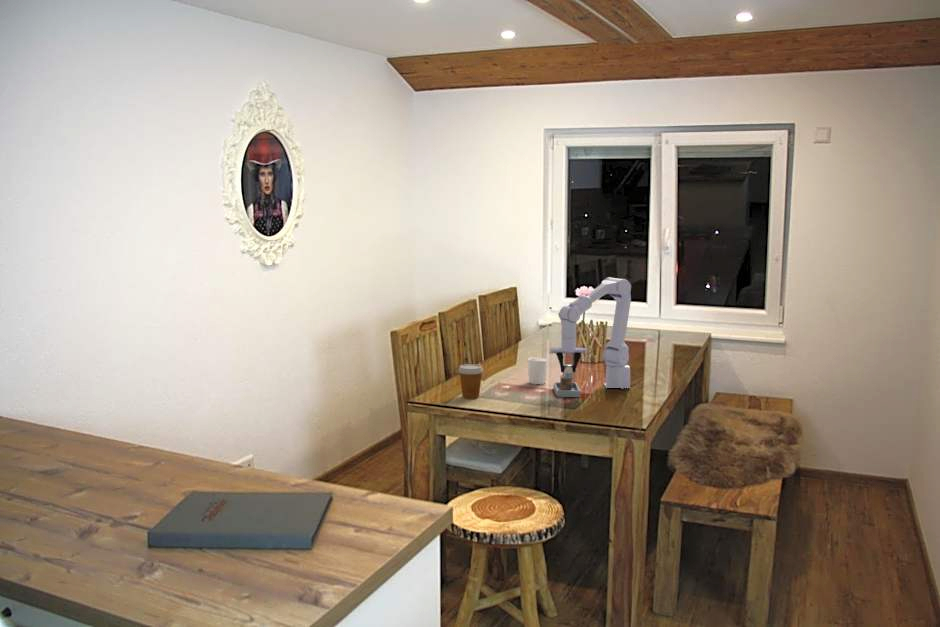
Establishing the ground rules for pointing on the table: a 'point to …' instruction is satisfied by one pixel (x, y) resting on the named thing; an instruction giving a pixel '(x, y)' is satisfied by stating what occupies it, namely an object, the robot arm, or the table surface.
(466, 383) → the disposable coffee cup
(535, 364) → the white cup
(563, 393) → the parts tray
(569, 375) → the metal cylinder
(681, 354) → the table surface
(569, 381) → the walnut block
